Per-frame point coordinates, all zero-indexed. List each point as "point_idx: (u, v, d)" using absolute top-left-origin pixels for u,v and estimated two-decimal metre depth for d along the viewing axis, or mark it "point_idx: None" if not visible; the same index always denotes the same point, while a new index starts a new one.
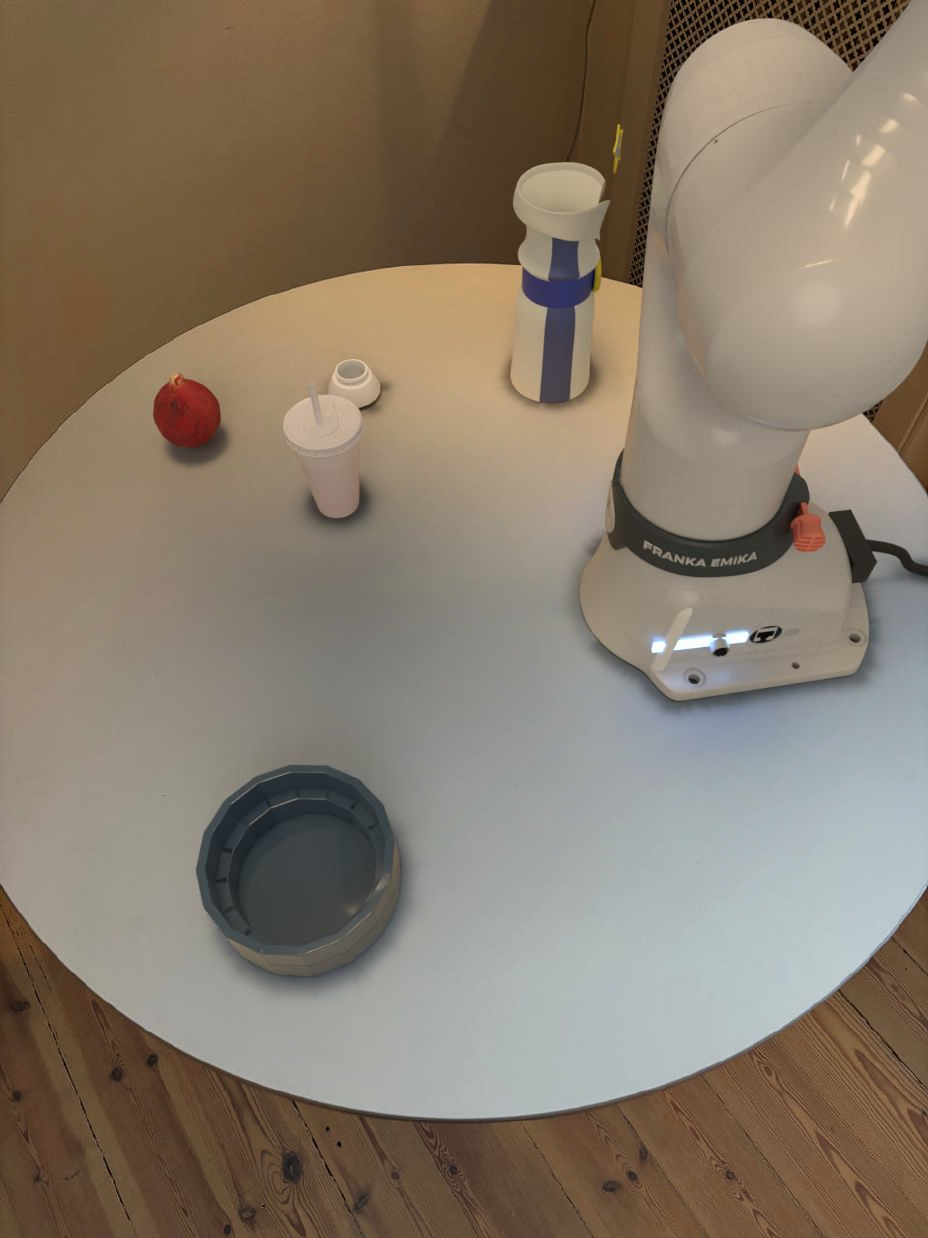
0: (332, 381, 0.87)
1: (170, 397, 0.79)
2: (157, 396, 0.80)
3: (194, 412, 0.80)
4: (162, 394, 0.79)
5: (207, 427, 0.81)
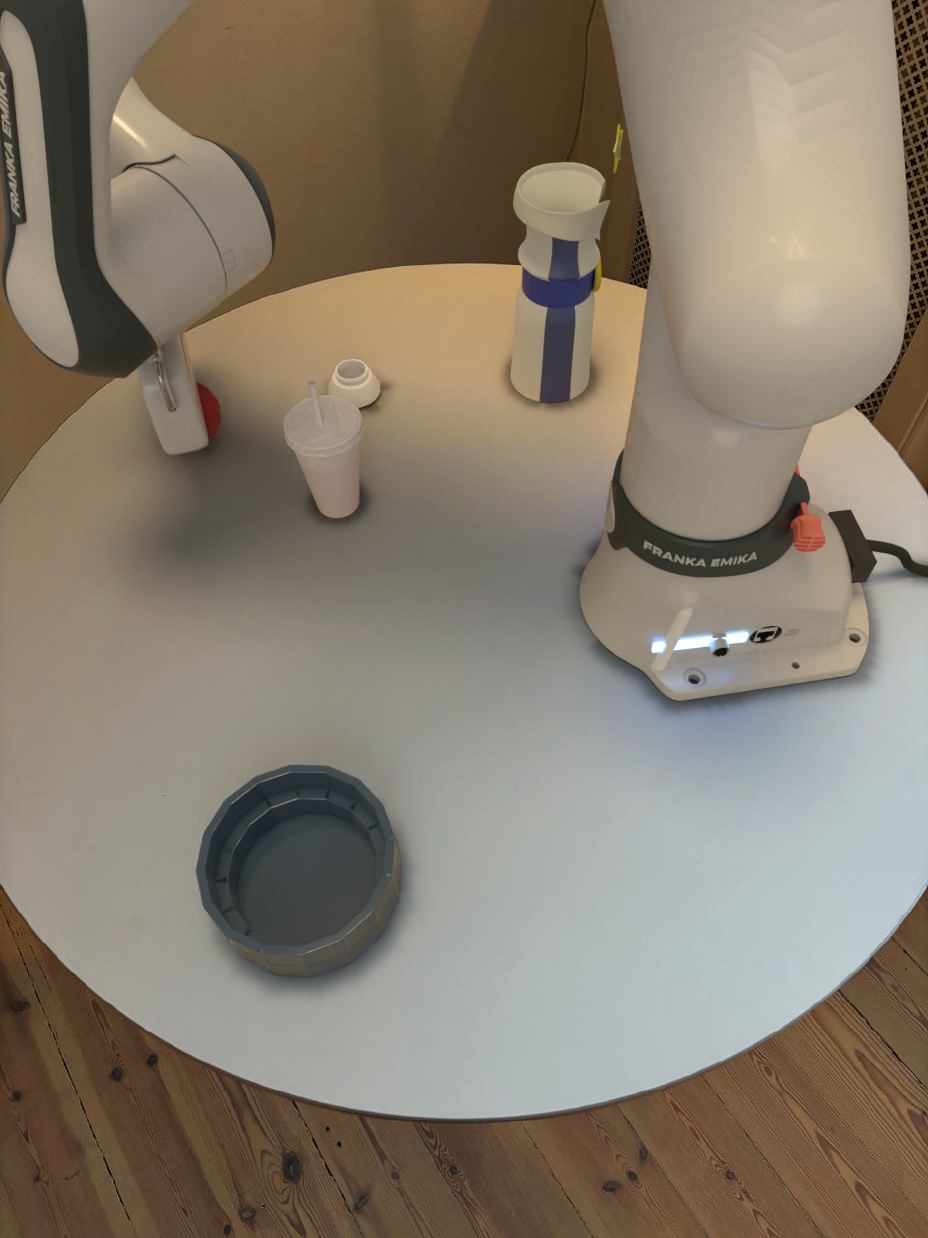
0: (332, 381, 0.87)
1: None
2: None
3: None
4: None
5: (207, 428, 0.81)
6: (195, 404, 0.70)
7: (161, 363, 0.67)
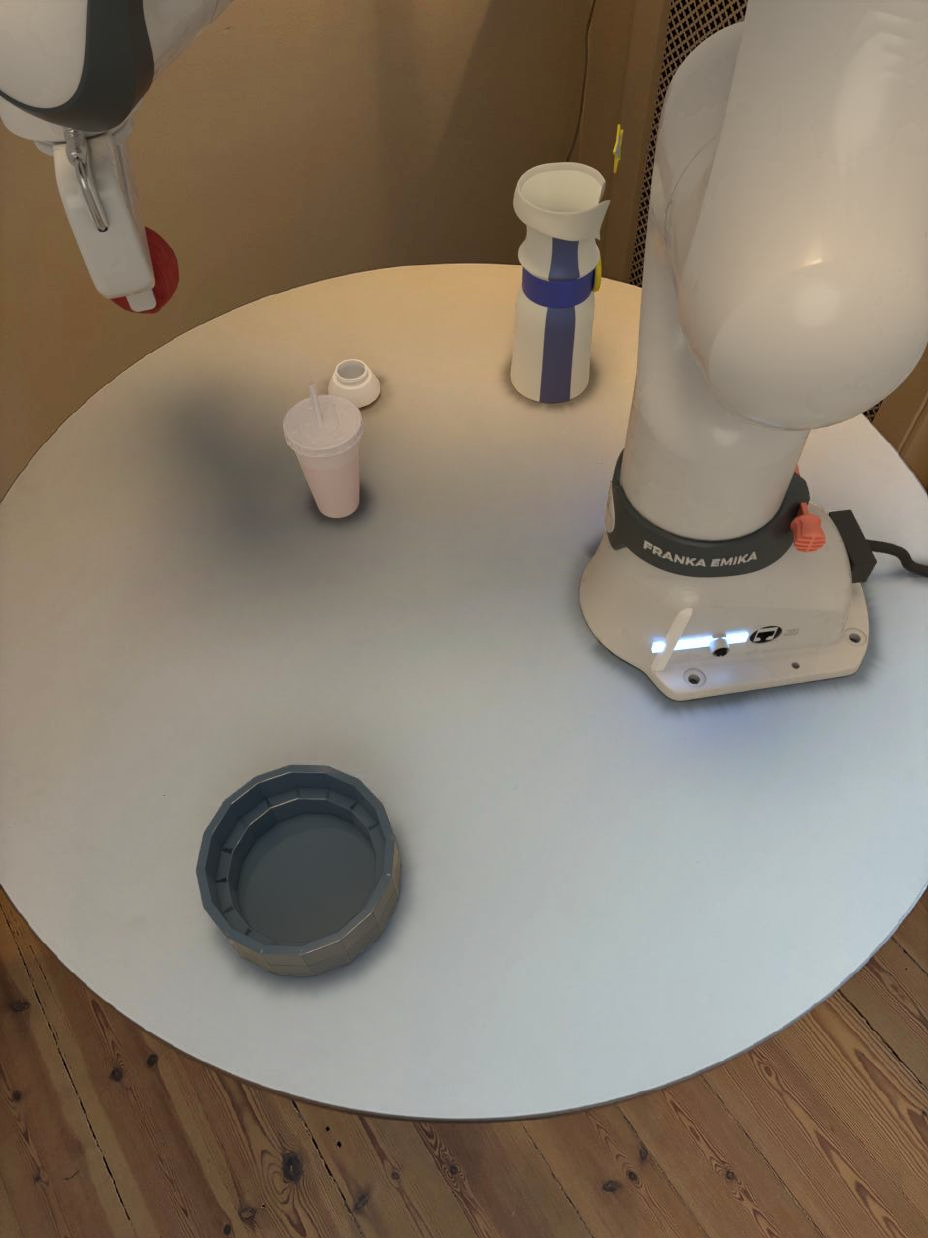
0: (332, 381, 0.87)
1: None
2: None
3: None
4: None
5: (161, 284, 0.66)
6: (133, 224, 0.55)
7: (84, 160, 0.52)
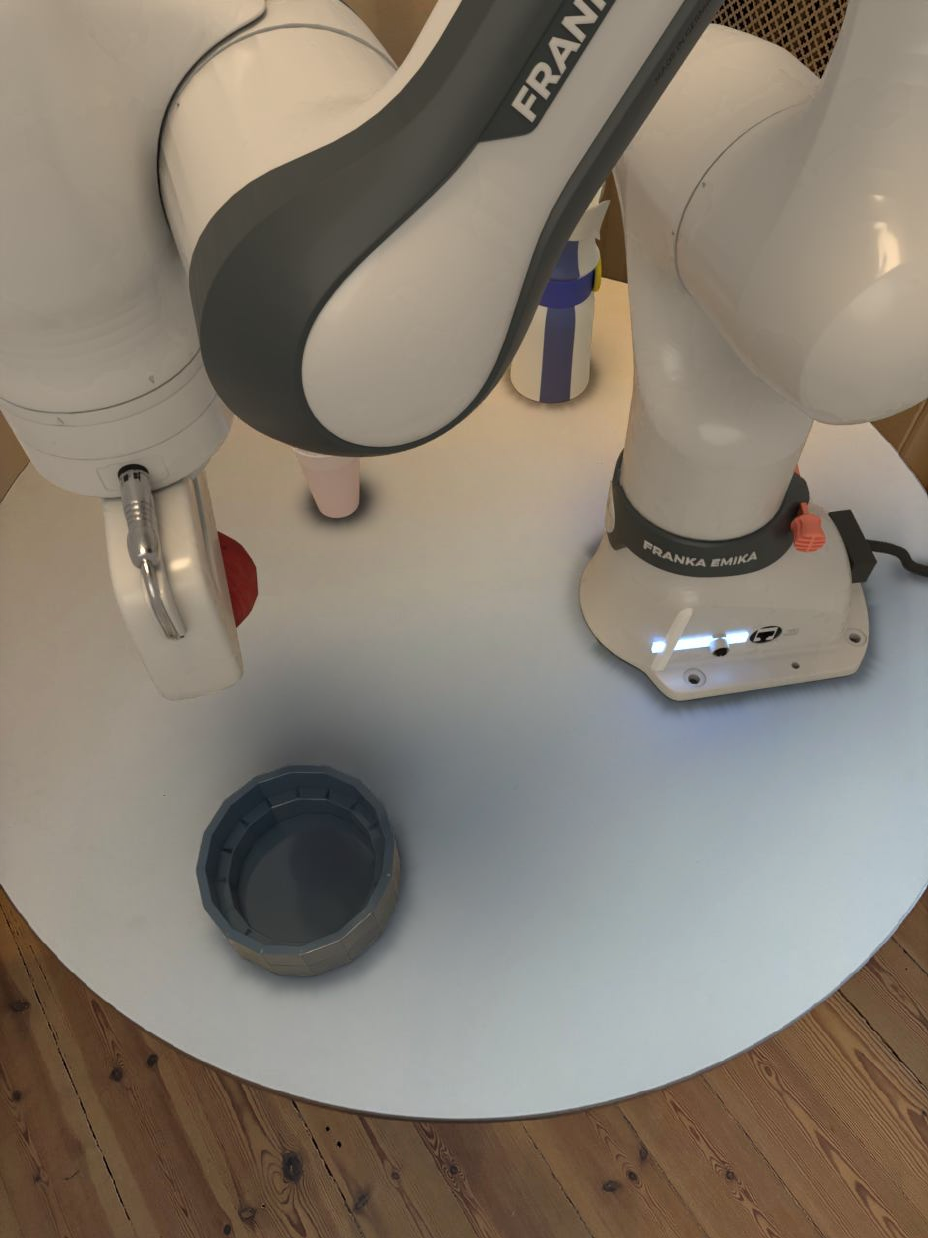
0: None
1: None
2: None
3: None
4: None
5: (236, 613, 0.48)
6: (221, 623, 0.37)
7: (155, 562, 0.34)
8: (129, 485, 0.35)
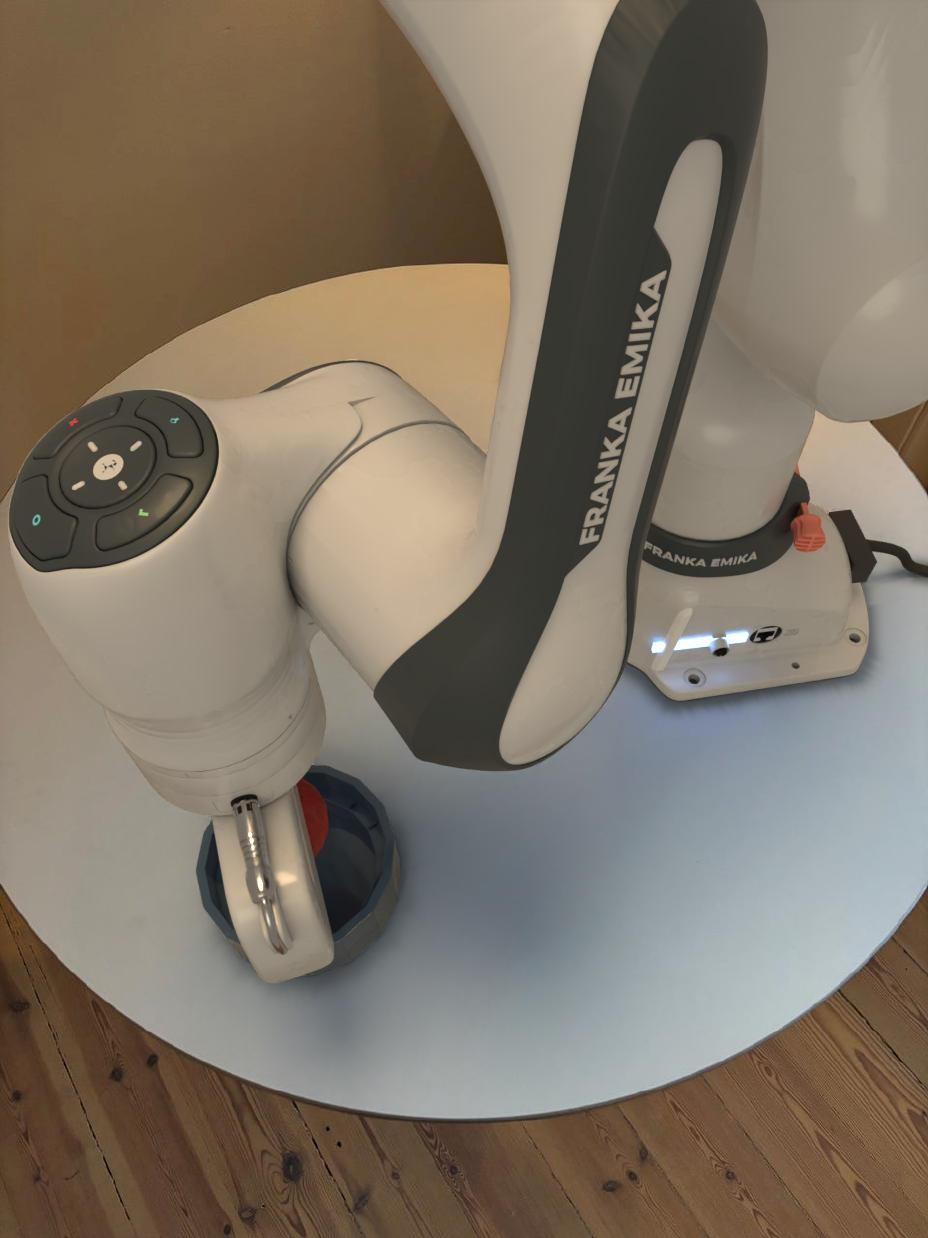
0: None
1: None
2: None
3: None
4: None
5: None
6: (322, 927, 0.41)
7: (272, 898, 0.37)
8: (243, 818, 0.39)
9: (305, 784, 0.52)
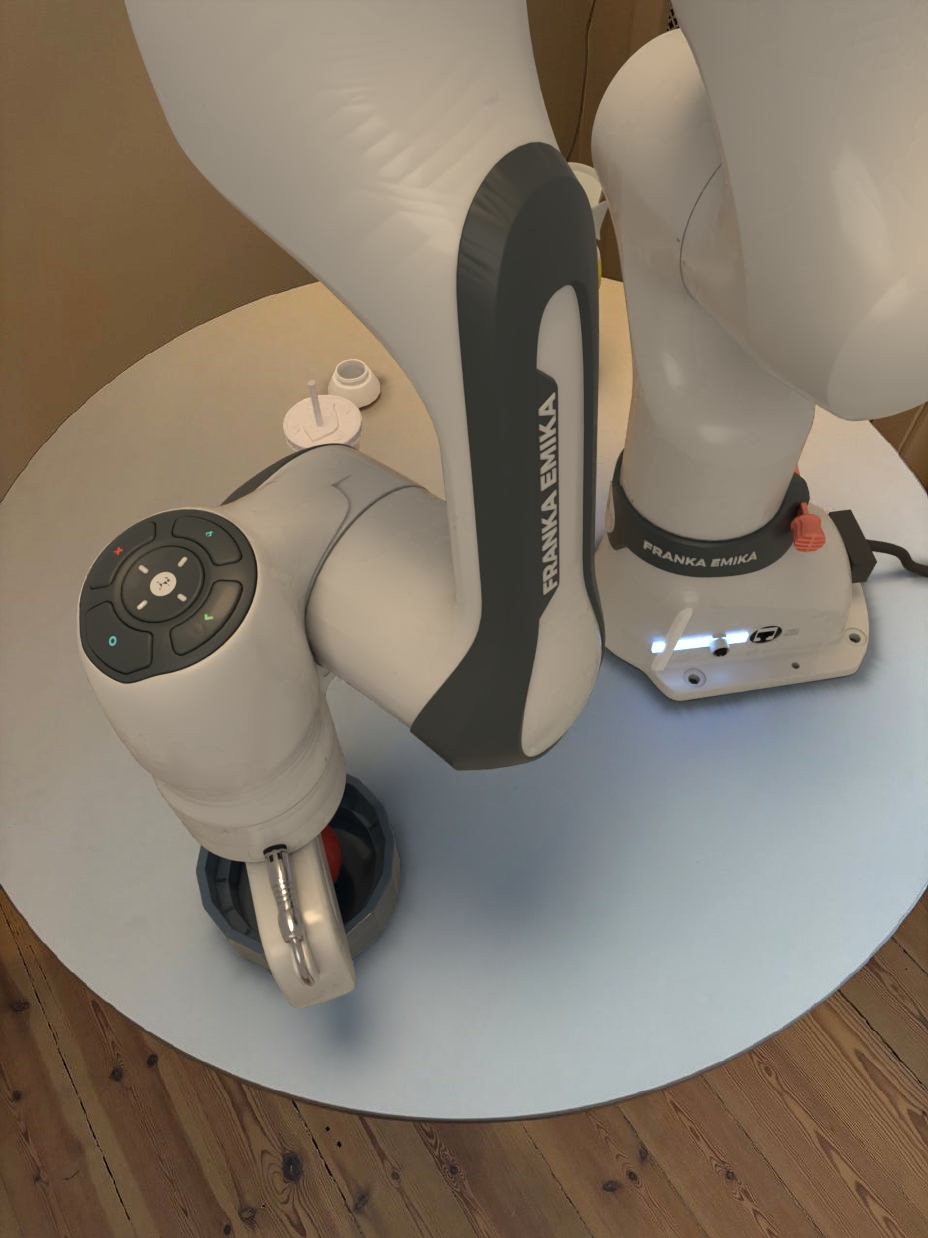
0: (332, 381, 0.87)
1: None
2: None
3: None
4: None
5: None
6: (345, 960, 0.46)
7: (302, 938, 0.42)
8: (275, 866, 0.44)
9: None
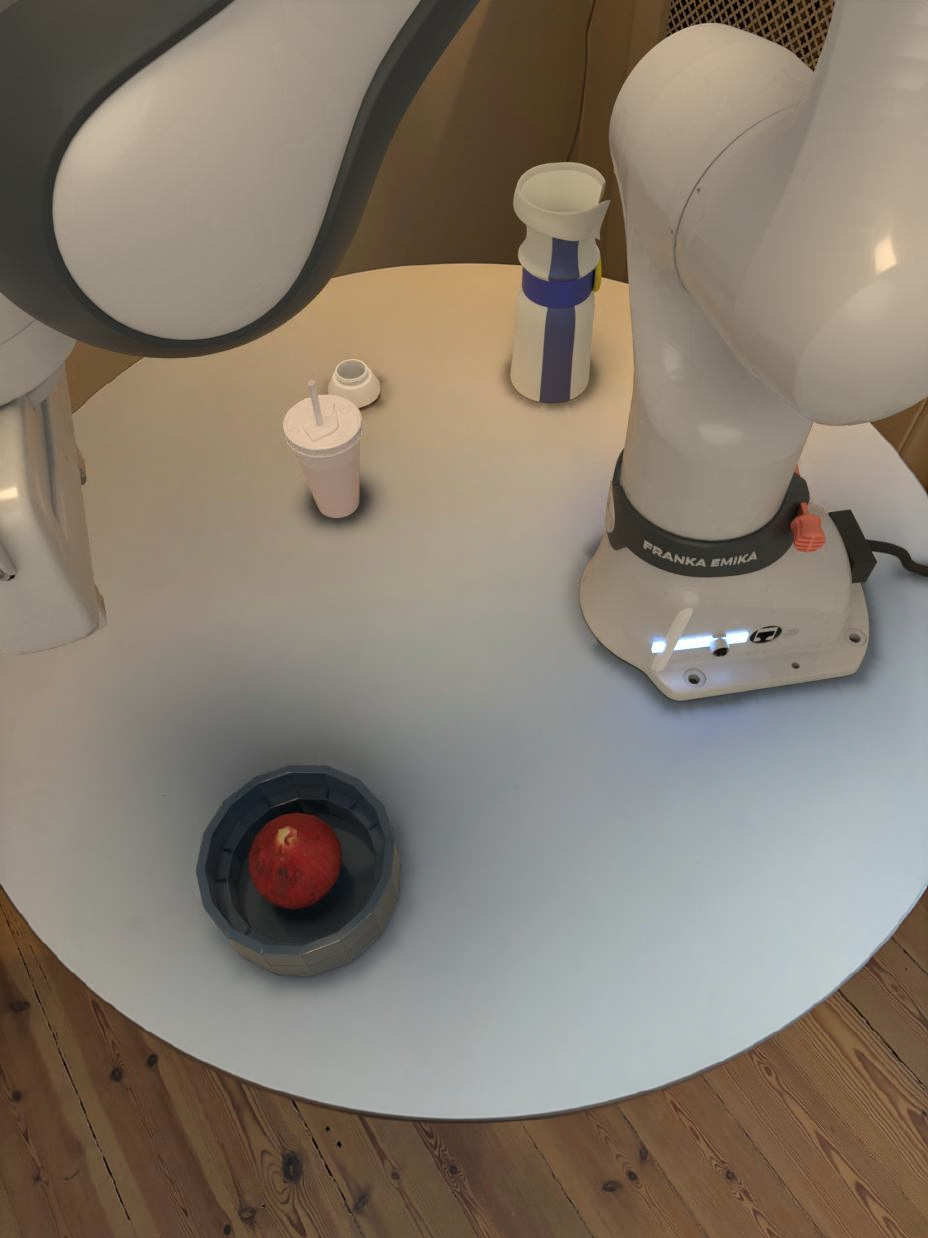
0: (332, 381, 0.87)
1: (277, 861, 0.55)
2: (256, 850, 0.56)
3: (310, 878, 0.55)
4: (264, 854, 0.55)
5: (326, 889, 0.57)
6: (59, 562, 0.33)
7: None
8: None
9: (321, 824, 0.57)
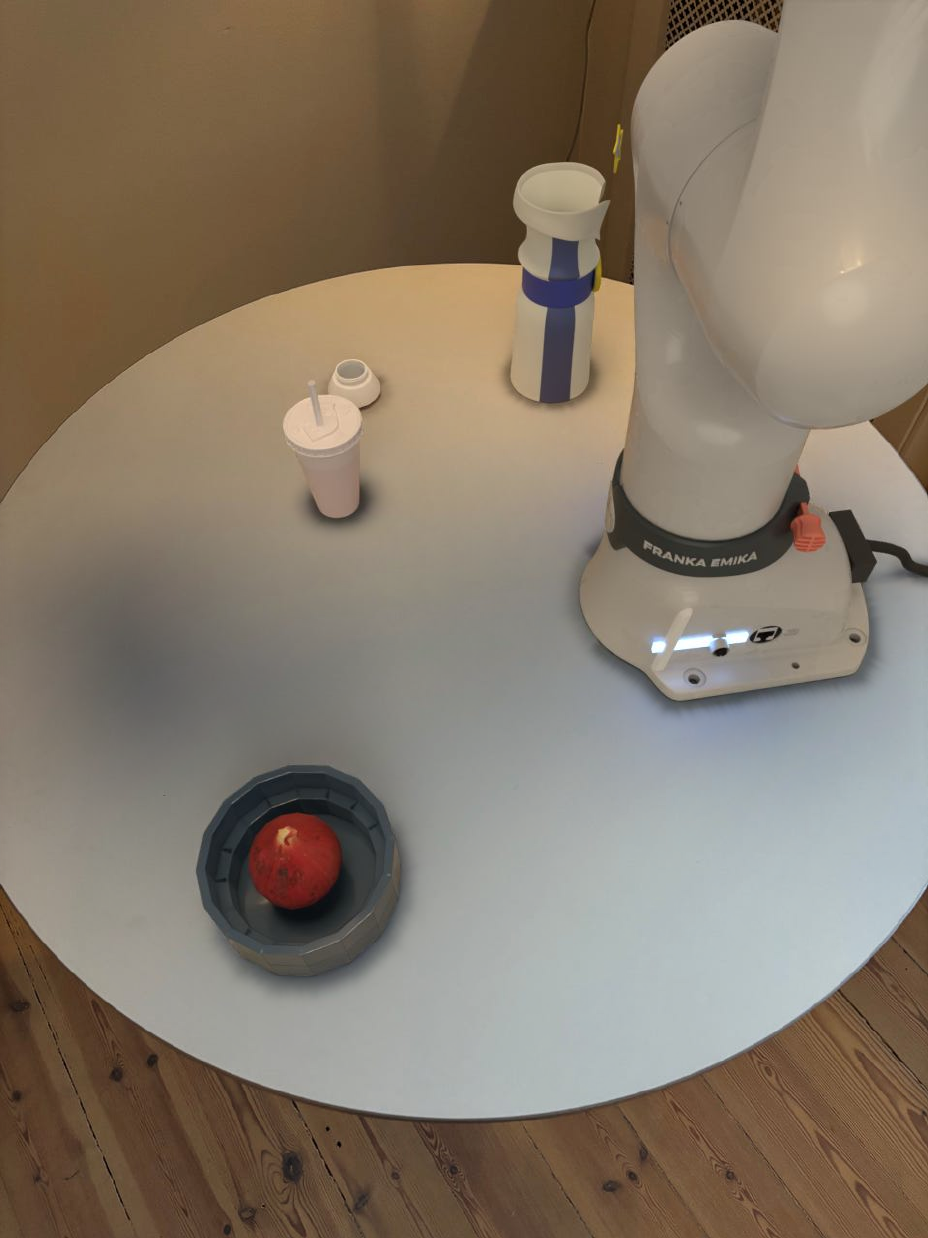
0: (332, 381, 0.87)
1: (277, 861, 0.55)
2: (256, 850, 0.56)
3: (310, 878, 0.55)
4: (264, 854, 0.55)
5: (326, 889, 0.57)
6: None
7: None
8: None
9: (321, 824, 0.57)
